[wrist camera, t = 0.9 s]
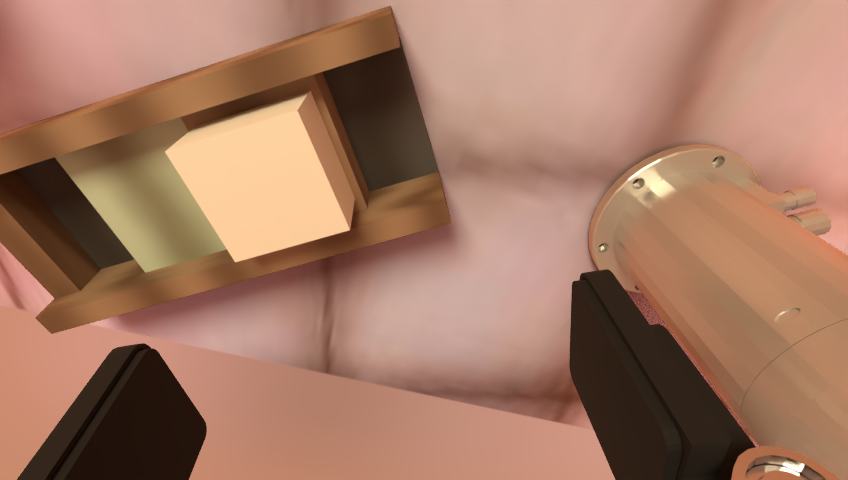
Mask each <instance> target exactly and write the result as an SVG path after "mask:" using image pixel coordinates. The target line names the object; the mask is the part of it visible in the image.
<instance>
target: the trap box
mask: <svg viewBox="0 0 848 480" xmlns="http://www.w3.org/2000/svg"><path fill="white" fill-rule="evenodd" d="M309 90H310V91H311V93H312V96H313V98H314V100H315V103H316V105H317V108H318V110H319V112H320V115H321V117H322V120H323V122H324V125H325V127H326V129H327V132H328V134H329V137H330V139H331V141H332V144H333V146H334V149H335V151H336V153H337V156H338V158H339V161H340V163H341V166H342V168H343V170H344V173H345V175H346V178H347V180H348V182H349V185H350V187H351V190H352V192H353V195H354V197H355V201H354V208H353V214H352V221H351V228H350V230H349V231H345V232H342V233H338V234H335V235H331V236H327V237H324V238H320V239H317V240H313V241H310V242H306V243H303V244H299V245H295V246H292V247H288V248H285V249H281V250H278V251H274V252H271V253H267V254H264V255H260V256H256V257H253V258H249V259H246V260H242V261H239V262H235V261H234V260H233V258H232V256H231V255H230V253H229V252H228V250H227V249H226V247H225V245H224V244H223V242H222V241H221V239H220V238H219V236H218V234H217V233H216V231H215V230H214V228H213V227H212V225H211V223H210V222H209V220H208V219H207V217H206V216H205V214H204V212H203V211H202V209H201V208H200V206H199V205H198V203H197V202H196V200H195V198H194V197H193V195H192V194H191V192H190V191H189V189H188V187H187V186H186V184H185V183H184V181H183V180H182V178H181V176H180V175H179V173H178V172H177V170H176V169H175V167H174V165H173V164H172V162H171V161H170V159H169V158H168V156H167V154H166V153H165V151H166V150H167V149H169V148H170V147H171V146H172V145H173V144H175V143H176V142H177V141H178V140H179V139H181V138H182V137H183V136H184V135H185V134H187V133H188V132H189V131H190V130H191V129H193V128H194V127H195V126H198V125H201V124H204V123H208V122H211V121H214V120H217V119H220V118H223V117H227V116H230V115H233V114H236V113H239V112H242V111H246V110H249V109H252V108H255V107H258V106H261V105H265V104H268V103H271V102H274V101H277V100H280V99H284V98H287V97H290V96H293V95H296V94H300V93H303V92H306V91H309ZM449 223H451V220H450V215H449V211H448V207H447V203H446V198H445V194H444V190H443V186H442V183H441V179H440V176H439V172H438V169H437V165H436V162H435V158H434V155H433V151H432V148H431V144H430V141H429V137H428V134H427V130H426V127H425V124H424V120H423V117H422V113H421V110H420V106H419V103H418V99H417V96H416V92H415V89H414V85H413V82H412V78H411V75H410V71H409V68H408V64H407V61H406V57H405V54H404V51H403V47H402V44H401V40H400V37H399V33H398V30H397V26H396V23H395V19H394V16H393V12H392V9H391V6H389V7H386V8H383V9H380V10H376V11H373V12H370V13H367V14H364V15H361V16H358V17H355V18H352V19H349V20H346V21H343V22H340V23H337V24H334V25H331V26H328V27H325V28H322V29H319V30H316V31H313V32H310V33H306V34H303V35H300V36H297V37H294V38H291V39H288V40H285V41H282V42H279V43H276V44H273V45H270V46H267V47H264V48H261V49H258V50H255V51H252V52H249V53H246V54H243V55H240V56H237V57H233V58H230V59H227V60H224V61H221V62H218V63H215V64H212V65H209V66H206V67H203V68H200V69H197V70H194V71H191V72H188V73H185V74H182V75H179V76H176V77H173V78H170V79H167V80H163V81H160V82H157V83H154V84H151V85H148V86H145V87H142V88H139V89H136V90H133V91H130V92H127V93H124V94H121V95H118V96H115V97H112V98H109V99H106V100H103V101H100V102H97V103H93V104H90V105H87V106H84V107H81V108H78V109H75V110H72V111H69V112H66V113H63V114H60V115H57V116H54V117H51V118H48V119H45V120H42V121H39V122H36V123H33V124H30V125H27V126H23V127H20V128H17V129H14V130H11V131H8V132H5V133H2V134H0V242H1V243H2V244H3V245H4V246H5V247H6V248H7V249H8V250H9V252H10V253H11V254H12V255H13V256H14V257H15V258H16V259H17V260H18V261H19V262H20V263H21V264H22V265H23V266H24V267H25V268H26V269H27V270H28V271H29V272H30V273H31V274H32V275H33V276H34V277H35V278H36V279H37V280H38V282H39V283H40V284H41V285H42V286H43V287H44V288H45V289H46V290H47V291H48V292H49V293H50V294H51V295H52V296H53V297H54V298H55V299H54V300H53V301H52V302H51V303H50V304H49V305H48V306H47V307H46V308H45V309H44V310H43V311H42V312H41V313H40V314H39V315H38V316H37V317H36V319H37V320H38V321H39V322H40V323H41V324H42V325H43V326H44V327H45V328H46V329H47V330H48V331H49V332H50V333H52V334H53V333H56V332H60V331H63V330H67V329H71V328H74V327H77V326H81V325H85V324H89V323H92V322H96V321H100V320H103V319H107V318H110V317H114V316H118V315H121V314H125V313H128V312H132V311H136V310H139V309H143V308H146V307H150V306H154V305H157V304H161V303H164V302H168V301H172V300H175V299H179V298H182V297H186V296H190V295H193V294H197V293H201V292H204V291H208V290H211V289H215V288H219V287H222V286H226V285H229V284H233V283H237V282H240V281H244V280H247V279H251V278H255V277H258V276H262V275H265V274H269V273H273V272H276V271H280V270H284V269H287V268H291V267H294V266H298V265H302V264H305V263H309V262H312V261H316V260H320V259H323V258H327V257H330V256H334V255H338V254H341V253H345V252H348V251H352V250H356V249H359V248H363V247H366V246H370V245H374V244H377V243H381V242H385V241H388V240H392V239H395V238H399V237H403V236H406V235H410V234H413V233H417V232H421V231H424V230H428V229H431V228H435V227H439V226H442V225H446V224H449Z"/></svg>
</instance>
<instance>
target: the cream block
mask: <svg viewBox="0 0 848 480" xmlns="http://www.w3.org/2000/svg"><path fill="white" fill-rule="evenodd" d="M165 153H166V154H167V156H168V158H169V159H170V161H171V162H172V164H173V165H174V167H175V169H176V170H177V172H178V173H179V175H180V176H181V178H182V180H183V181H184V183H185V184H186V186H187V187H188V189H189V191H190V192H191V194H192V195H193V197H194V198H195V200H196V202H197V203H198V205H199V206H200V208H201V209H202V211H203V212H204V214H205V216H206V217H207V219H208V220H209V222H210V223H211V225H212V227H213V228H214V230H215V231H216V233H217V234H218V236H219V238H220V239H221V241H222V242H223V244H224V245H225V247H226V249H227V250H228V252H229V253H230V255H231V256H232V258H233V260H234V261H235V262H239V261H242V260H246V259H249V258H253V257H256V256H260V255H264V254H267V253H271V252H274V251H278V250H281V249H285V248H288V247H292V246H295V245H299V244H303V243H306V242H310V241H313V240H317V239H320V238H324V237H327V236H331V235H335V234H338V233H342V232H345V231H349V230H350V228H351V221H352V214H353V208H354V201H355V197H354V195H353V192H352V190H351V187H350V185H349V182H348V180H347V178H346V175H345V173H344V170H343V168H342V166H341V163H340V161H339V158H338V156H337V153H336V151H335V149H334V146H333V144H332V141H331V139H330V137H329V134H328V132H327V129H326V127H325V125H324V122H323V120H322V117H321V115H320V112H319V110H318V108H317V105H316V103H315V100H314V98H313V96H312V93H311V91H310V90H309V91H306V92H303V93H300V94H296V95H293V96H290V97H287V98H284V99H280V100H277V101H274V102H271V103H268V104H265V105H261V106H258V107H255V108H252V109H249V110H246V111H242V112H239V113H236V114H233V115H230V116H227V117H223V118H220V119H217V120H214V121H211V122H208V123H204V124H201V125H198V126H195V127H194V128H193V129H191V130H190V131H189V132H188V133H187V134H185V135H184V136H183V137H182V138H181V139H179V140H178V141H177V142H176V143H175V144H173V145H172V146H171V147H170V148H169V149H167V150H166V151H165Z"/></svg>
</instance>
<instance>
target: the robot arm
mask: <svg viewBox="0 0 848 480" xmlns="http://www.w3.org/2000/svg"><path fill="white" fill-rule="evenodd" d="M816 200H817V195H816V193H815V191H814V189H812V188H811V187H809V186H803V187H800V188H796V189H792V190H788V191H786V192H784V193H781V194H775V193H773V192H769V191H768V190H766V189H764V188H763V187H761V185H760V181H759V178H758V176H757V174H756V173H755V171H754V170H753V168H752V166H751V165H749V164H748V163H747V162H746V161H745V160H744V159H742V158H741V157H739V156H738V155H736V154H734V153H732V152H730V151H728V150H726V149H723V148H720V147H717V146H713V145H702V144H694V145H684V146H678V147H675V148H671V149H668V150H664V151H661V152H659V153H657V154H655V155H653V156H650V157H648V158H646V159H644V160H643V161H641V162H640V163H638V164H637V165H635V166H633V167H632V168H630V169H629V170H628V171H627V172H626V173H625V174H623V175H622V176H621V177H620V178H619V179H618V180H616V182H615V183H614V184H613V185H612V186H611V187H610V189H609V190H608V191H607V192H606V193H605V195H604V196H603V198H602V199H601V201H600V203H599V204H598V206H597V207H596V210H595V212H594V215H593V217H592V220H591V224H590V229H589V234H588V239H589V250H590V253H591V257H592V260H593V261H594V263H595V265H596V266H597V268H598V269H599V271H593V272H587V273H582V274H581V276H580V280H579V281H574V282H573V283H572V303H571V336H570V372H571V376H572V380H573V382H574V385H575V387H576V389H577V392H578V394H579V396H580V399H581V401H582V403H583V405H584V408H585V410H586V412H587V415H588V417H589V419H590V422H591V424H592V426H593V429H594V431H595V433H596V436H597V438H598V440H599V442H600V445H601V447H602V449H603V452H604V454H605V456H606V459H607V461H608V463H609V466H610V468H611V470H612V473H613V475H614V477H615V479H616V480H848V255H846V254H845V253H843V252H841V251H840V250H838V249H837V248H835V247H834V246H832V245H831V244H829V243H827V242H826V241H824V240H823V239H821V238H820V237H818V235H822V234H825V233H827V232H829V230H830V228H831V221H830V218H829V216H828V215H827V213H825V212H824V211H823V210H822V209H818V208H815V209H811V210H807V211H803V212H800V213H796V214H792V215H788V216H785V215H783V214H784V211H786V210H790V209H791V210H794V209H798V208H801V207H805V206H809V205H812V204H815V202H816ZM625 290H627V291H631V292H635V293H642V294H643V295H644V297H645V298H646V299H647V300H648V302H649V303H650V304H651V306H652V307H653V308H654V310H655V311H656V312H657V314H658V315H659V316H660V317H661V319H662V320H663V321H664V323H665V324H666V325H667V327H668V328H669V329H670V331H671V332H672V333H673V334H674V336H675V337H676V338H677V340H678V341H679V342H680V344H681V345H682V346H683V348H684V349H685V350H686V351H687V353H688V354H689V355H690V357H691V358H692V359H693V361H694V362H695V363H696V365H697V366H698V367H699V368H700V370H701V371H702V372H703V374H704V375H705V376H706V378H707V379H708V380H709V382H710V383H711V384H712V386H713V387H714V388H715V389H716V391H717V392H718V393H719V395H720V396H721V397H722V399H723V400H724V401H725V403H726V404H727V405H728V406H729V408H730V409H731V410H732V412H733V413H734V414H735V416H736V417H737V418H738V420H739V421H740V422H741V423H742V425H743V426H744V427H745V429H746V430H747V431H748V432H749V433H750V435H751V436H752V437H753V438H754V440H755V441H756V442H757V444H758V445H759V447H755V445H754V444H753V443H752V441H751V440H750V439H749V437H748V436H747V435H746V433H745V432H744V431H743V429H742V428H741V427H740V426H739V424H738V423H737V422H736V420H735V419H734V418H733V416H732V415H731V414H730V412H729V411H728V410H727V408H726V407H725V406H724V404H723V403H722V402H721V400H720V399H719V398H718V396H717V395H716V394H715V392H714V391H713V390H712V388H711V387H710V386H709V384H708V383H707V382H706V380H705V379H704V378H703V376H702V375H701V374H700V372H699V371H698V370H697V368H696V367H695V366H694V364H693V363H692V362H691V360H690V359H689V358H688V356H687V355H686V354H685V352H684V351H683V350H682V348H681V347H680V346H679V344H678V343H677V342H676V340H675V339H674V338H673V336H672V335H671V334H670V333H669V331H668V330H667V329H666V328H665V327H663V326H662V325H660V324H655V325H649V323H648V322H647V320H646V319H645V318H644V316H643V315H642V313H641V312H640V311H639V309H638V308H637V306H636V305H635V304H634V302H633V301H632V299H631V298H630V297H629V295H628V294H627V292H626V291H625ZM206 431H207V430H206V423H205V421H204V419H203V418H202V416H201V415H200V413H199V412H198V410H197V409H196V407H195V406H194V404H193V403H192V402H191V400H190V398H189V397H188V396H187V394H186V393H185V391H184V390H183V388H182V387H181V385H180V384H179V382H178V381H177V379H176V378H175V376H174V375H173V373H172V372H171V370H170V369H169V368H168V366H167V364H166V363H165V361H164V360H163V359H162V357H161V356H160V354H159V353H158V352H157V350H155V349H151V348H150V347H149V346H148V345H146V344H136V345H129V346H123V347H118V348H115V349H113V350H112V351H111V352H110V353H109V355H108V356H107V357H106V359H105V360H104V361H103V363H102V364H101V366H100V367H99V368H98V370H97V371H96V372H95V374H94V375H93V376H92V378H91V379H90V380H89V382H88V383H87V385H86V386H85V387H84V389H83V390H82V391H81V393H80V394H79V395H78V397H77V398H76V400H75V401H74V402H73V404H72V405H71V406H70V408H69V409H68V411H67V412H66V413H65V415H64V416H63V417H62V419H61V420H60V421H59V423H58V424H57V426H56V427H55V428H54V430H53V431H52V432H51V434H50V435H49V436H48V438H47V439H46V441H45V442H44V443H43V445H42V446H41V448H40V449H39V450H38V451H37V453H36V454H35V456H34V457H33V458H32V460H31V461H30V462H29V464H28V465H27V466H26V468H25V469H24V471H23V472H22V473H21V475H20V476H19V477H18V479H17V480H189V477H190V475H191V472H192V470H193V467H194V465H195V462H196V459H197V457H198V455H199V452H200V450H201V447H202V445H203V442H204V440H205V437H206Z"/></svg>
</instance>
